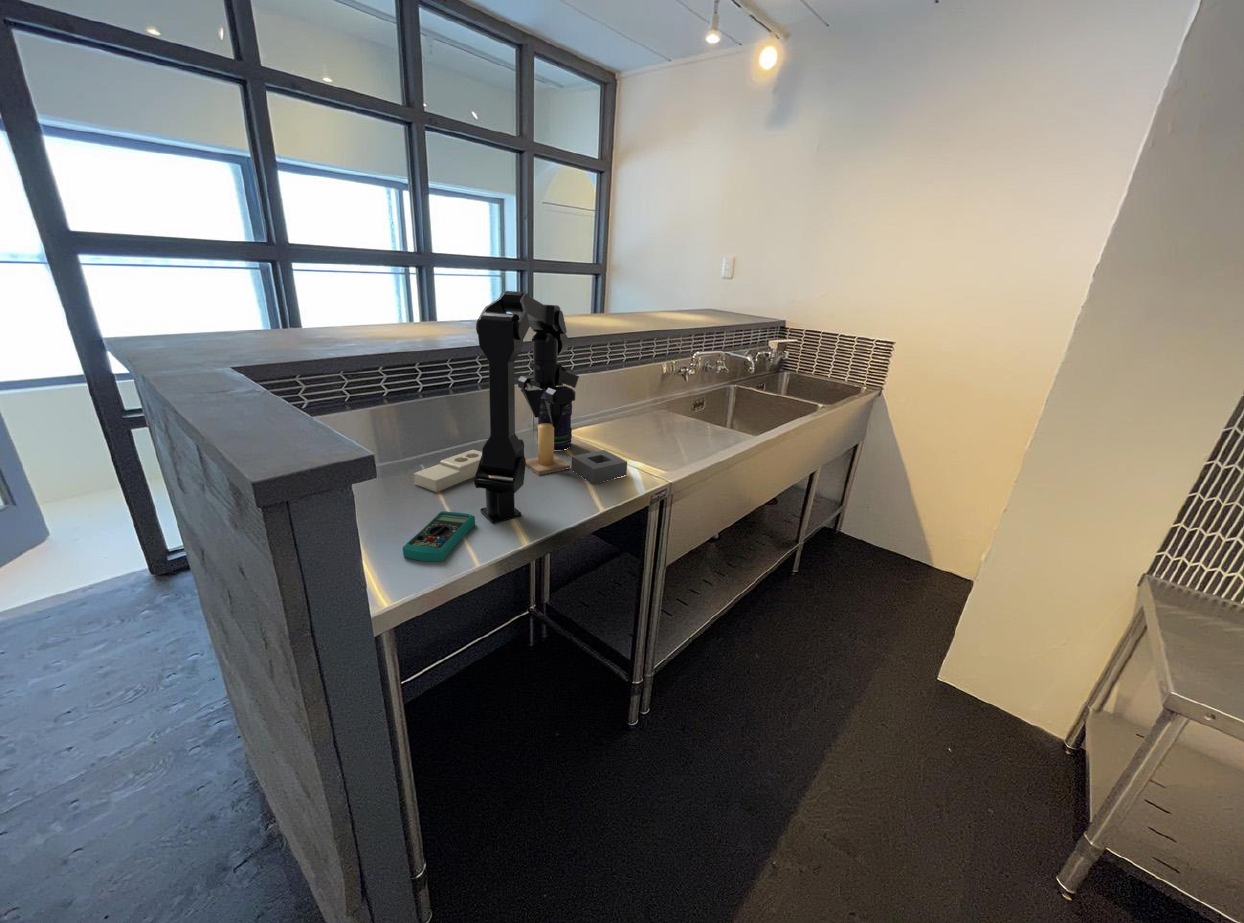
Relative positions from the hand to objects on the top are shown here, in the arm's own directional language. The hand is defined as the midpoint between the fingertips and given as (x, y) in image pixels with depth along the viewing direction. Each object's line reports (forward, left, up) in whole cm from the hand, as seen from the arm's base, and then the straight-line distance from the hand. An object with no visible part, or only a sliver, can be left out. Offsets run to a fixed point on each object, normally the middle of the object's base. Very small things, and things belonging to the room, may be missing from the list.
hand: (545, 422), depth 126 cm
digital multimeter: (-23, +35, -13) cm, 43 cm away
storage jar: (+13, -10, -12) cm, 20 cm away
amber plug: (0, 0, -11) cm, 11 cm away
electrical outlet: (+5, +22, -12) cm, 26 cm away
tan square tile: (0, 0, -12) cm, 12 cm away
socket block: (-11, -9, -12) cm, 19 cm away
